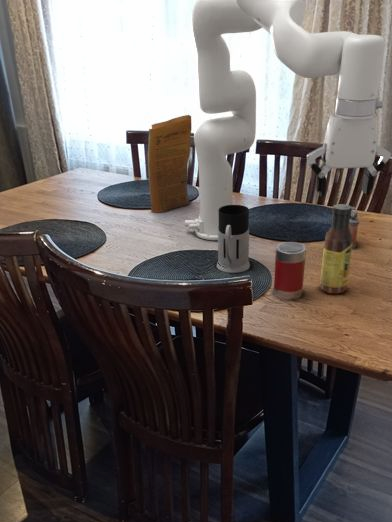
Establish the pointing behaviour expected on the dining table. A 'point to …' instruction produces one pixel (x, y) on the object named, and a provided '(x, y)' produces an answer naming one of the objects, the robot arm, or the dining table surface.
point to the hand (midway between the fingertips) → (343, 193)
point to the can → (289, 270)
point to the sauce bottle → (337, 251)
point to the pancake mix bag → (169, 163)
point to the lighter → (353, 225)
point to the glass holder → (233, 238)
